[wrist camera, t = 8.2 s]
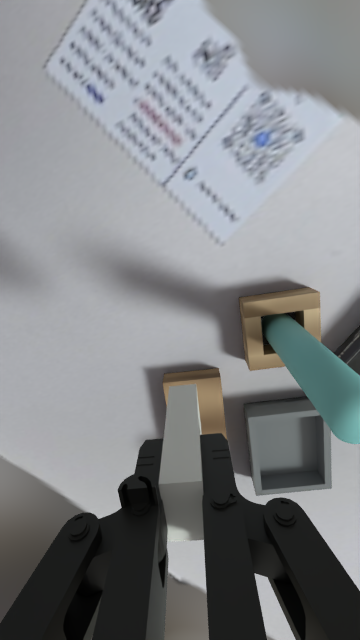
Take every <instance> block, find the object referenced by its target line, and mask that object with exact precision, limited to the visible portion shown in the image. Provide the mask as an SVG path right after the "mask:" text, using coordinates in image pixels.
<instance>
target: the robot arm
mask: <svg viewBox="0 0 360 640" xmlns="http://www.w3.org/2000/svg"><path fill="white" fill-rule="evenodd" d="M118 493H119V498H120V502H121V506H122V508H121V509H120V510H118V511H117V512H115V513H113V514H111V515H108V516H106V517H103V518H101V519H98V518H97V517H96V515H94V514H92V513H81V514H78V515H75V516H74V517H73V518H71V519H70V520H68V521H67V523H66V524H65V525H64V526H63V527H62V529H61V530H60V532H59V533H58V535H57V536H56V538H55V540H54V541H53V543H52V544H51V546H50V548H49V549H48V550H47V552H46V553H45V555H44V557H43V558H42V560H41V561H40V563H39V564H38V566H37V567H36V569H35V571H34V572H33V574H32V575H31V577H30V578H29V580H28V582H27V583H26V585H25V586H24V588H23V589H22V591H21V592H20V594H19V595H18V597H17V598H16V600H15V601H14V603H13V605H12V606H11V608H10V609H9V611H8V612H7V614H6V615H5V617H4V619H3V620H2V622H1V623H0V640H91V638H92V640H164V631H165V613H166V592H167V575H168V552H167V535H168V540H169V542H175V541H191V540H204V549H205V568H206V588H207V607H208V626H209V640H267V638H266V632H265V627H264V622H263V617H262V612H261V606H260V601H259V596H258V591H257V586H256V580H255V575H254V573H256V574H259V575H262V576H266V577H268V579H269V582H270V584H271V586H272V588H273V590H274V593H275V595H276V597H277V599H278V601H279V604H280V606H281V608H282V610H283V612H284V615H285V617H286V619H287V621H288V623H289V626H290V628H291V630H292V632H293V634H294V637H295V639H296V640H360V591H359V589H358V588H357V586H356V585H355V584H354V582H353V581H352V579H351V578H350V576H349V575H348V574H347V572H346V571H345V569H344V568H343V566H342V565H341V563H340V562H339V561H338V559H337V558H336V556H335V555H334V553H333V552H332V551H331V549H330V548H329V546H328V545H327V543H326V542H325V540H324V539H323V538H322V536H321V535H320V533H319V532H318V530H317V529H316V527H315V526H314V525H313V523H312V522H311V520H310V519H309V517H308V516H307V515H306V513H305V512H304V510H303V509H302V508H301V507H300V506H299V505H298V504H297V503H295V502H294V501H292V500H290V499H286V498H274V499H272V500H270V501H268V502H267V504H266V505H261V504H256V503H253V502H250V501H248V500H247V499H245V498H244V497H243V496H242V495H241V494H240V493H239V491H238V490H237V487H236V483H235V478H234V472H233V467H232V462H231V457H230V451H229V446H228V441H227V439H226V438H225V437H224V436H223V434H222V433H214V434H203V435H202V433H201V422H200V413H199V404H198V396H197V387H196V384H190V385H180V386H169V393H168V403H167V412H166V421H165V430H164V439H153V440H146V441H145V442H144V443H143V445H142V446H141V447H140V450H139V455H138V459H137V464H136V469H135V474H134V475H131V476H130V477H128V478H126V479H125V480H124V481H123V482H122V483H121V484H120V486H119V488H118ZM92 635H93V637H92Z"/></svg>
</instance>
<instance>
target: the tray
mask: <svg viewBox="0 0 360 640" xmlns="http://www.w3.org/2000/svg"><path fill="white" fill-rule="evenodd" d="M244 412H245V421H246V430H247V439H248V448H249V457H250V466H251V475H252V481H253V485H254V488H255V492H256V496H259V495H269V494H279V493H290V492H300V491H310V490H321V489H331V488H332V481H331V429H330V428H329V427H328V425H327V424H326V422H325V421H324V419H323V418H322V417H321V415H320V414H319V412H318V411H317V410H316V408H315V407H314V405H313V404H312V403H311V401H310V400H309V398H308V397H307V396H306V397H298V398H289V399H281V400H272V401H264V402H256V403H247V404H244Z"/></svg>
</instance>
